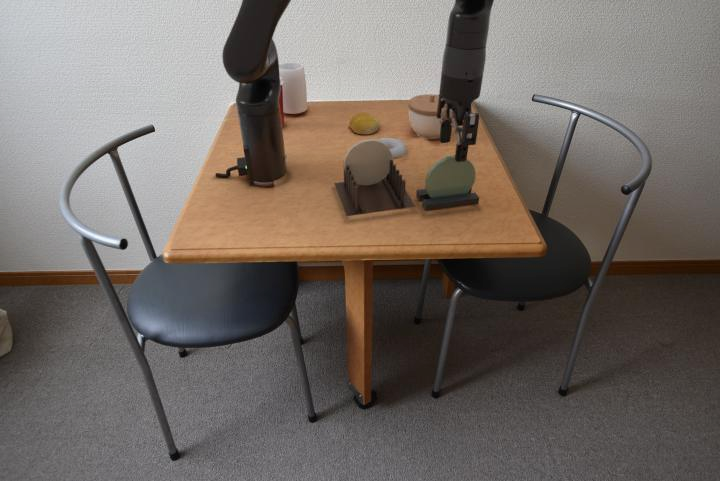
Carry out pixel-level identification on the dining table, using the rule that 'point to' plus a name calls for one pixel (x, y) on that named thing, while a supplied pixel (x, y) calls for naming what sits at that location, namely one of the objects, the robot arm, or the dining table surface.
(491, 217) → the dining table surface
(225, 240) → the dining table surface
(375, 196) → the dish rack
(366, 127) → the bread roll
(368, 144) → the cream plate
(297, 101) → the cup
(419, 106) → the lidded bowl
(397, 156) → the donut
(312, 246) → the dining table surface
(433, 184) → the sage plate
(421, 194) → the plate stand
